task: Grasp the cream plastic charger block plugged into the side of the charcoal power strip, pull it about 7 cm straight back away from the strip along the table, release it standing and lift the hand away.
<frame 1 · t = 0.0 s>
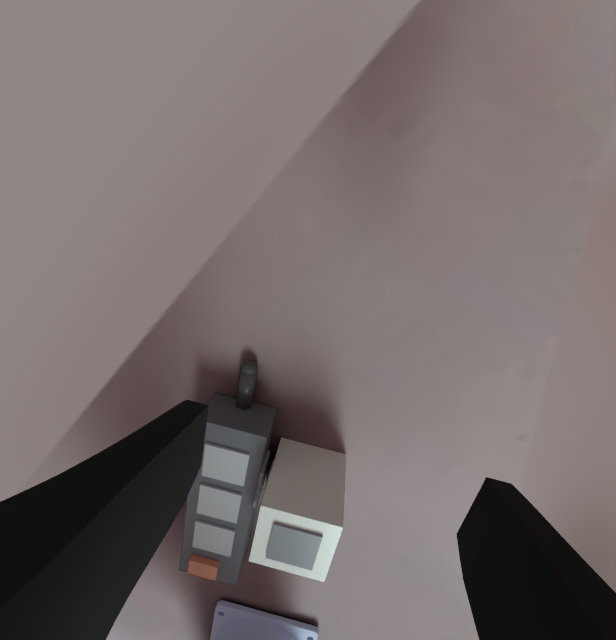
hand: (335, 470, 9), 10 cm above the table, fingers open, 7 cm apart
charger plug: (306, 470, 22), on the table
power strip: (232, 477, 23), on the table
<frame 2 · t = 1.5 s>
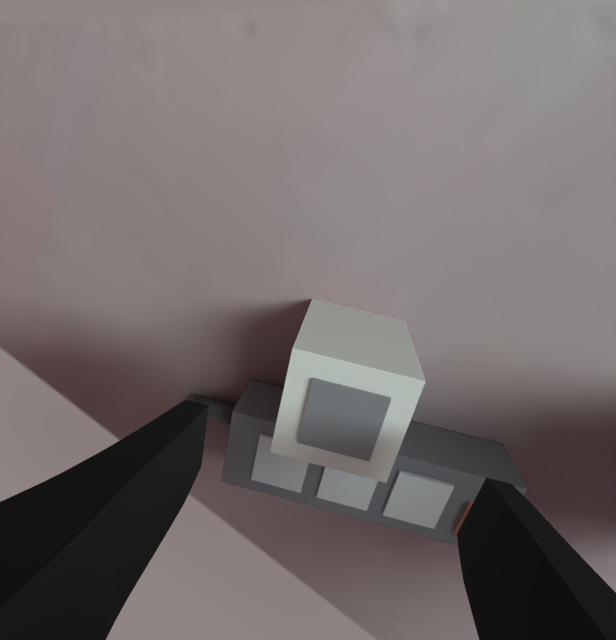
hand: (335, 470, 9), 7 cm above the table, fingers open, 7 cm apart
charger plug: (346, 351, 16), on the table
power strip: (363, 443, 17), on the table
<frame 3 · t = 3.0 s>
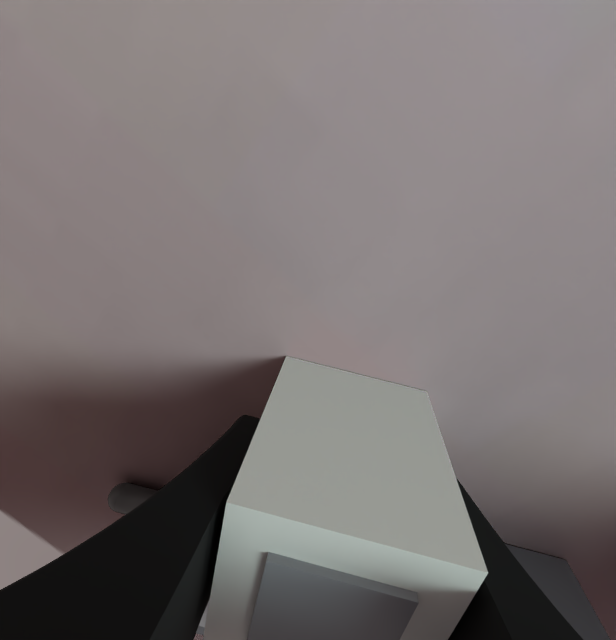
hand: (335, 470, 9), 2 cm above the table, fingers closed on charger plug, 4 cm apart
charger plug: (338, 430, 11), on the table, touching gripper
power strip: (364, 550, 12), on the table
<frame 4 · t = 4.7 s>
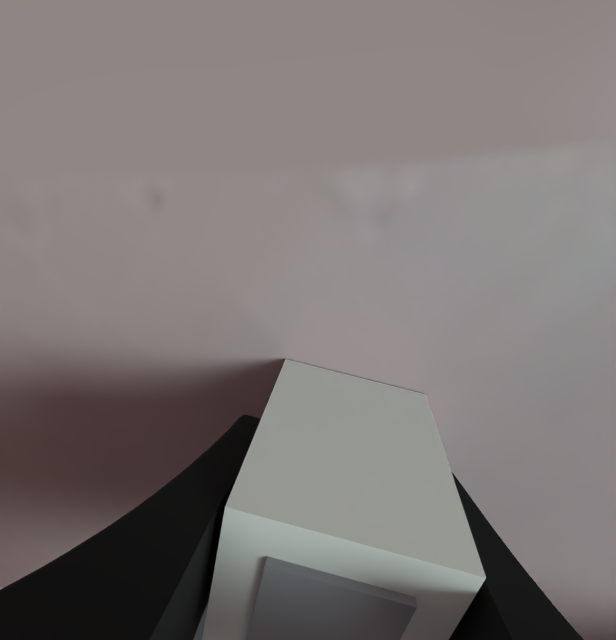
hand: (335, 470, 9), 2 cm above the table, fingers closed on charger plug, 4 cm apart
charger plug: (337, 433, 11), on the table, touching gripper
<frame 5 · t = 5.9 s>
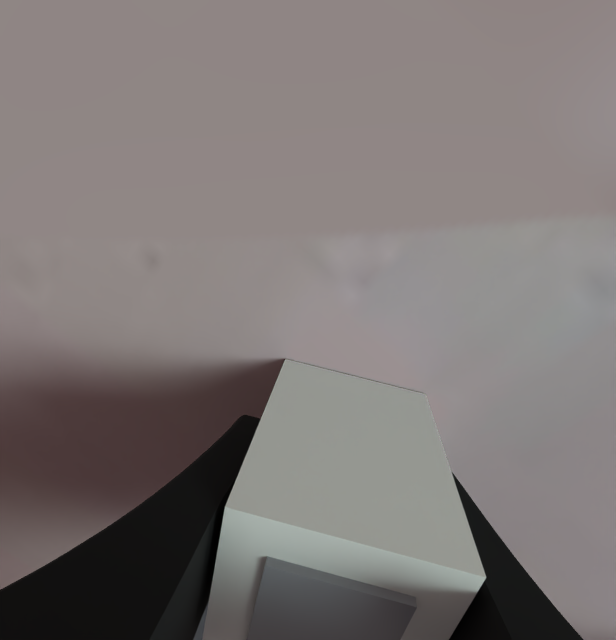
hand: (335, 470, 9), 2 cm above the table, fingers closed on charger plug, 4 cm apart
charger plug: (337, 433, 11), on the table, touching gripper
when the fingers open (2 cm above the table, at t = 6.4 s): charger plug stays where it is, on the table.
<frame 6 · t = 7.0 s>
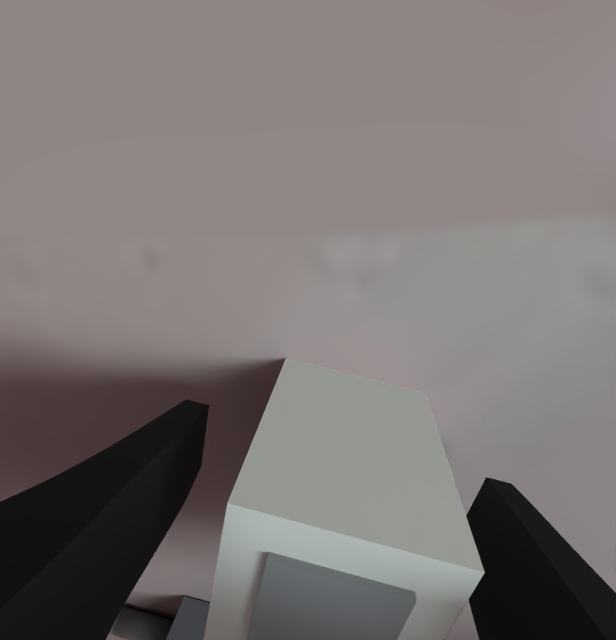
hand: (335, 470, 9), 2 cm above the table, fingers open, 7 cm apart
charger plug: (338, 431, 11), on the table
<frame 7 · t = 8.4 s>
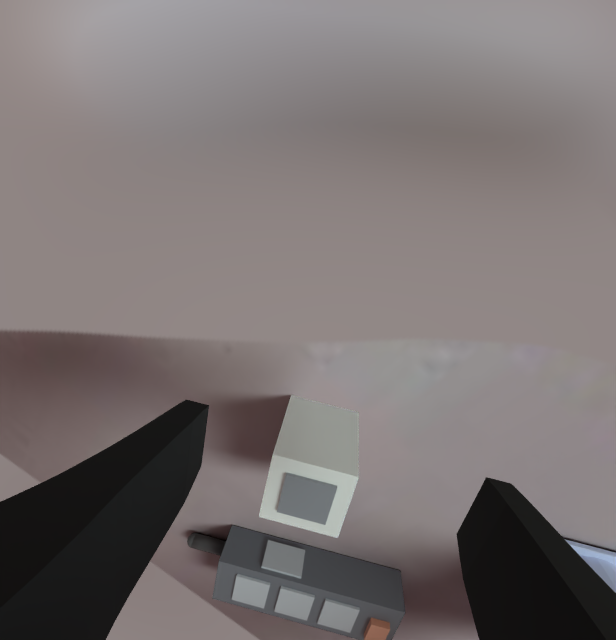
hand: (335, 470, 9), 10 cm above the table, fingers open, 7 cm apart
charger plug: (317, 430, 22), on the table
power strip: (309, 565, 26), on the table
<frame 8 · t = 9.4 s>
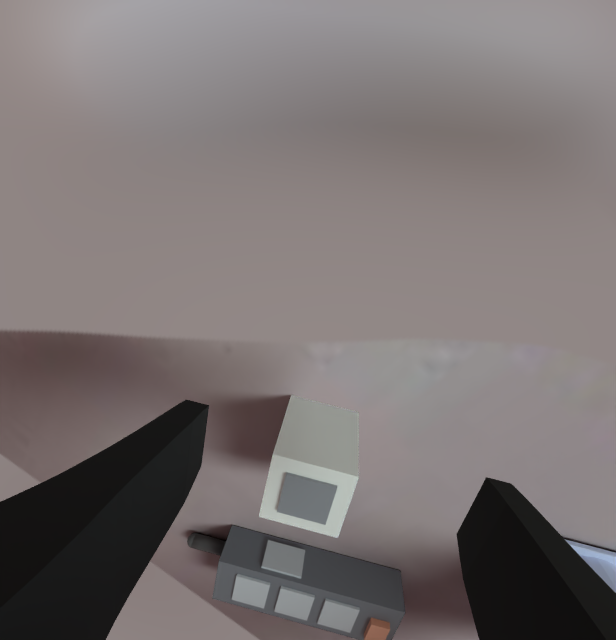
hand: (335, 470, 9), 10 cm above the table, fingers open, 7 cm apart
charger plug: (317, 430, 22), on the table
power strip: (309, 565, 26), on the table
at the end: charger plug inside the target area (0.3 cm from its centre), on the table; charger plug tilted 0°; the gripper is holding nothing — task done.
